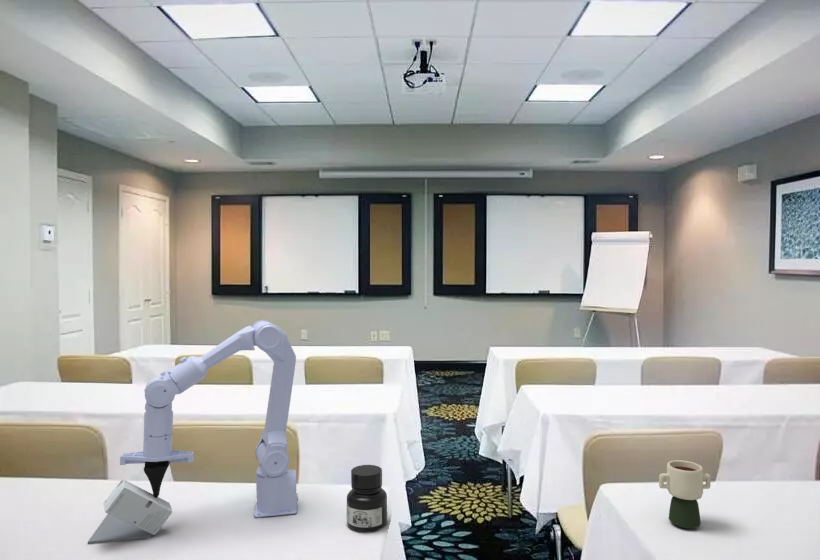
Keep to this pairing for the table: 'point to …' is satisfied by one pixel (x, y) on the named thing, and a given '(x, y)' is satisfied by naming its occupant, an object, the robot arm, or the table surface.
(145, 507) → the skincare box
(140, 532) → the slate mat
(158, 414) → the robot arm
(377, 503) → the ink bottle
